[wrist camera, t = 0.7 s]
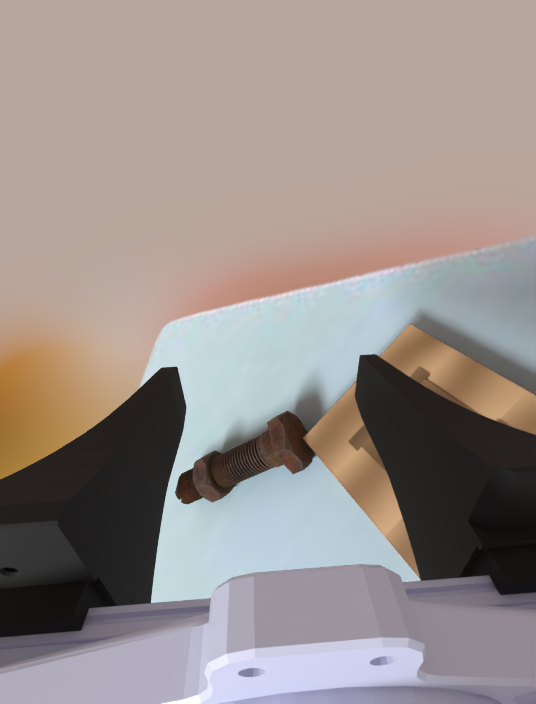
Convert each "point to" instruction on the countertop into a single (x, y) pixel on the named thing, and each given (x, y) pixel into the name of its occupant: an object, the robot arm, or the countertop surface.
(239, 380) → the countertop surface
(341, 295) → the countertop surface
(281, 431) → the bolt
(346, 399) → the board
